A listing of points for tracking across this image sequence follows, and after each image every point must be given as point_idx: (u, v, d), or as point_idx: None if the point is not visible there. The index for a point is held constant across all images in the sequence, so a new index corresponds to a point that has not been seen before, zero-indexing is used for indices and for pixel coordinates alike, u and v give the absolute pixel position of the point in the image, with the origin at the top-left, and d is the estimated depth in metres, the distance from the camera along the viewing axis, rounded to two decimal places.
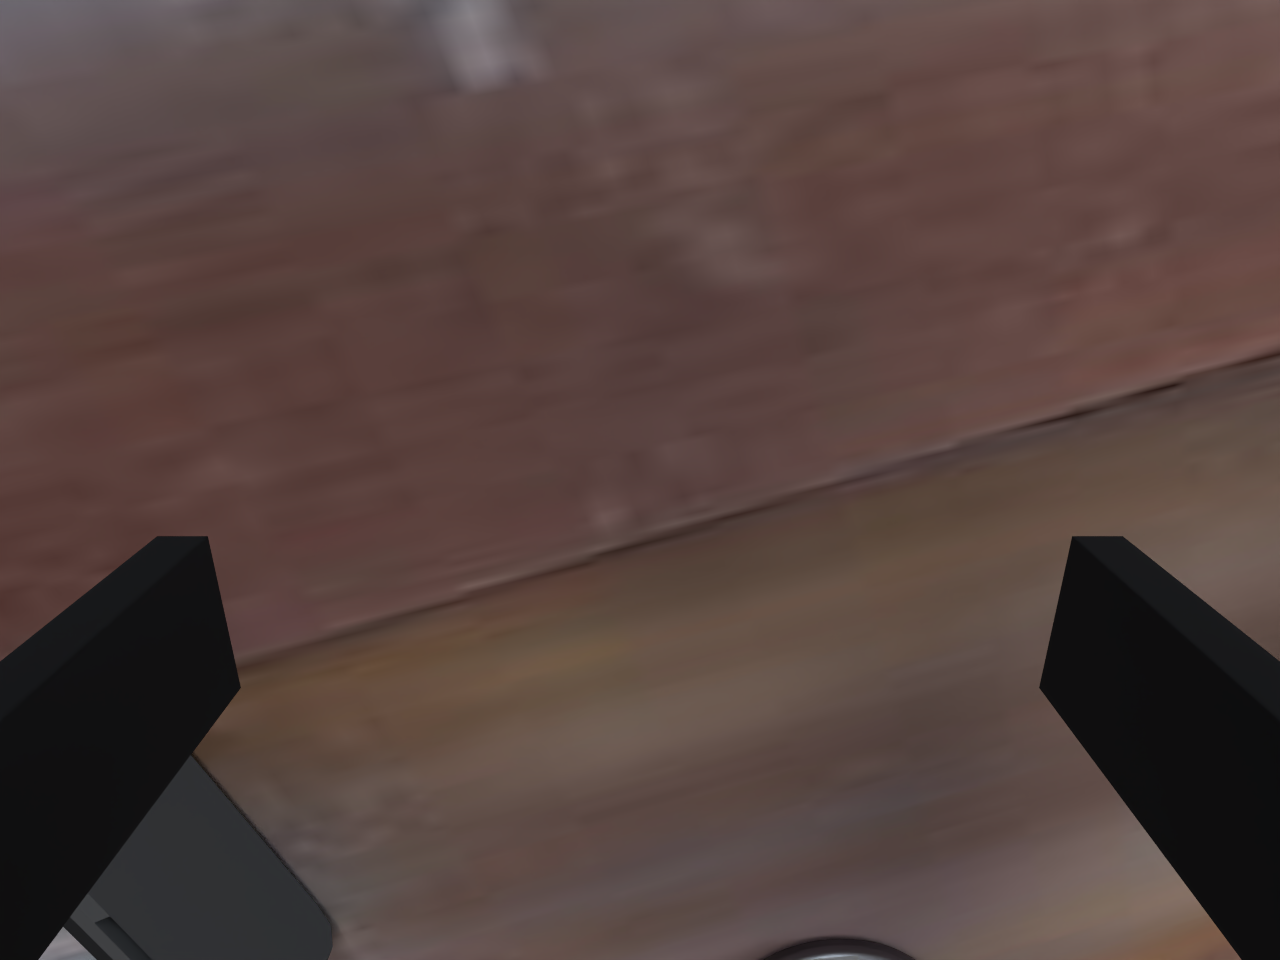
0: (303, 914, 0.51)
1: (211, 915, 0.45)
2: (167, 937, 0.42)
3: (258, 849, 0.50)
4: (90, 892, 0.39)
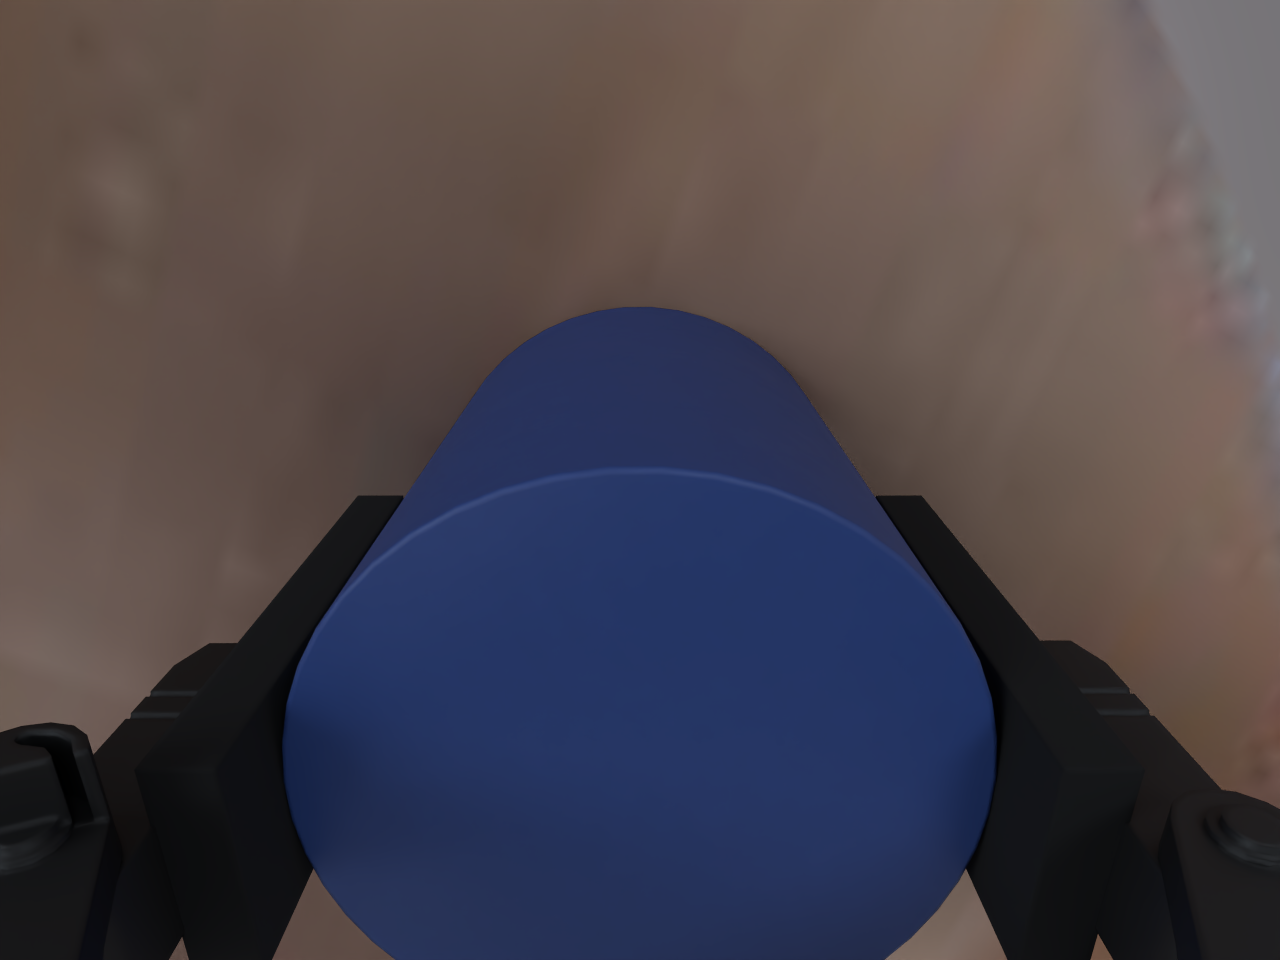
0: None
1: None
2: None
3: None
4: None
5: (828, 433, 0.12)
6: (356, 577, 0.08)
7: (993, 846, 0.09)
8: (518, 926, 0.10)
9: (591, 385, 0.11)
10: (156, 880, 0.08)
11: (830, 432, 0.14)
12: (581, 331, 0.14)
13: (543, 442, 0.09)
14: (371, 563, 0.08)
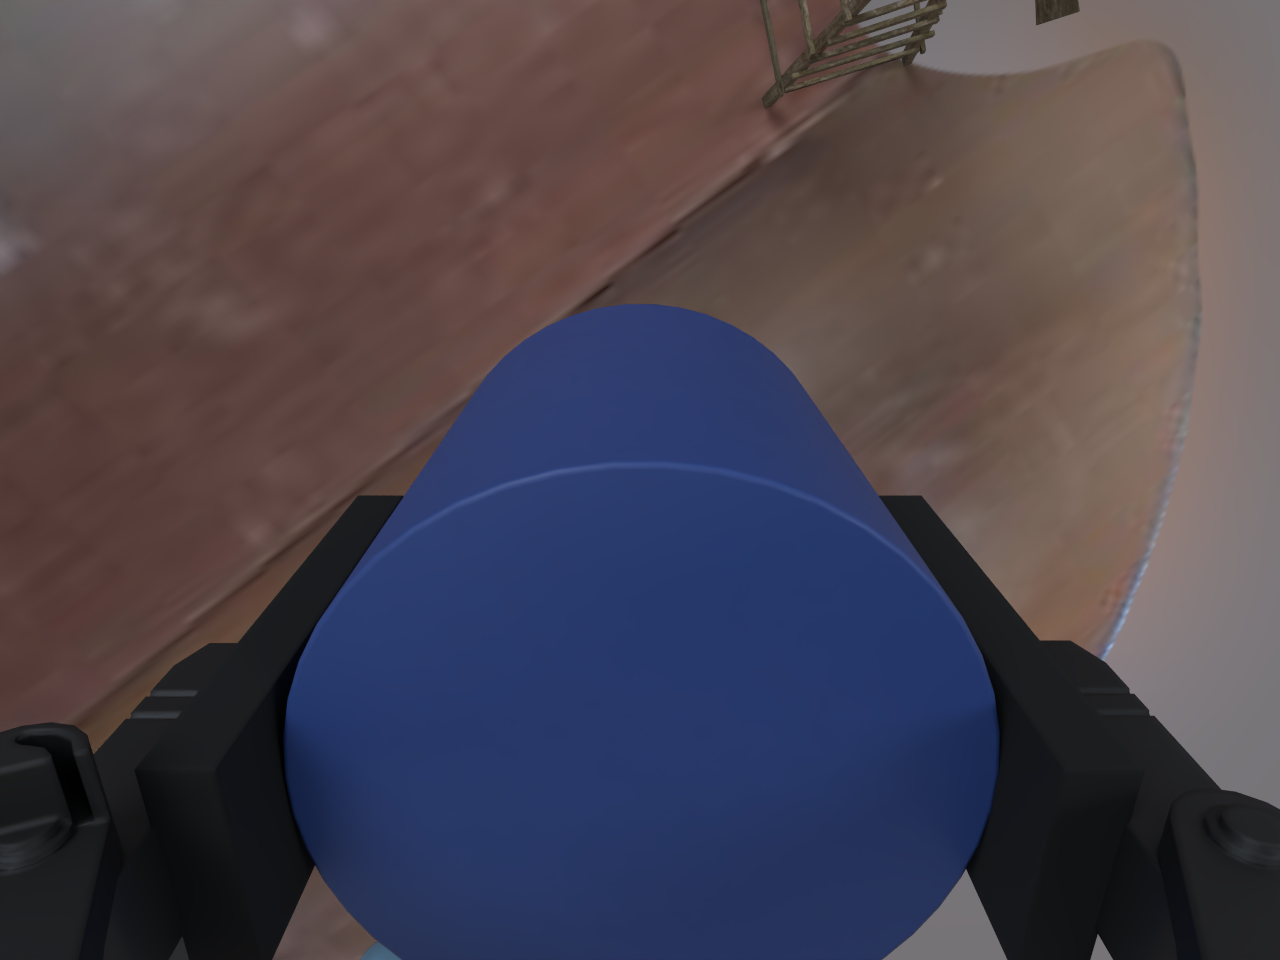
0: None
1: None
2: None
3: None
4: None
5: (830, 429, 0.12)
6: (357, 572, 0.08)
7: (993, 845, 0.09)
8: (520, 923, 0.10)
9: (593, 380, 0.10)
10: (156, 880, 0.08)
11: None
12: (582, 328, 0.14)
13: (544, 436, 0.09)
14: (372, 558, 0.08)
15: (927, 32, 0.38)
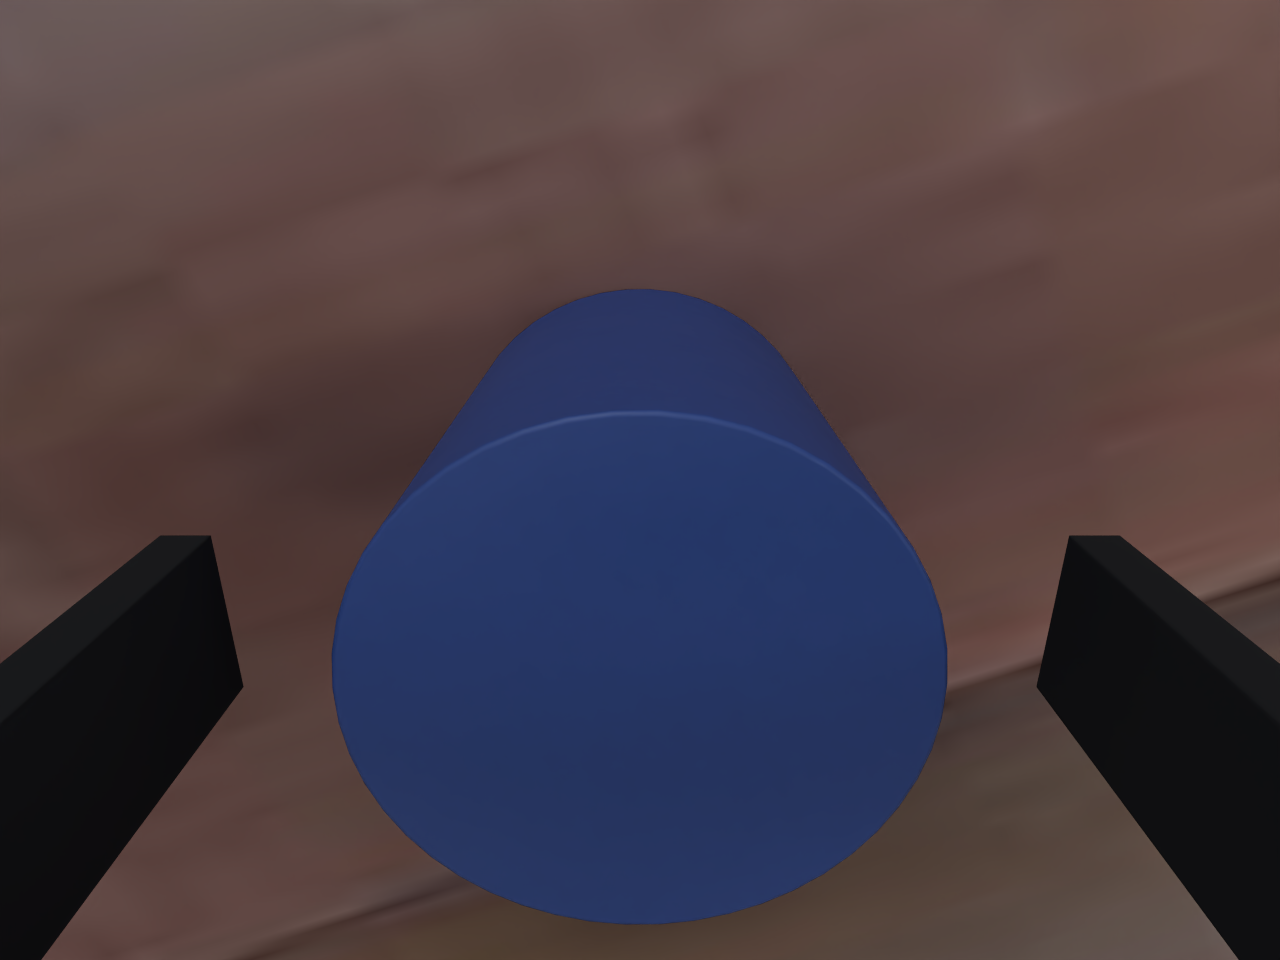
0: None
1: None
2: None
3: None
4: None
5: (808, 399, 0.14)
6: (398, 506, 0.10)
7: None
8: (533, 822, 0.11)
9: (597, 351, 0.12)
10: None
11: (812, 400, 0.15)
12: (587, 310, 0.15)
13: (556, 394, 0.10)
14: (411, 493, 0.09)
15: None
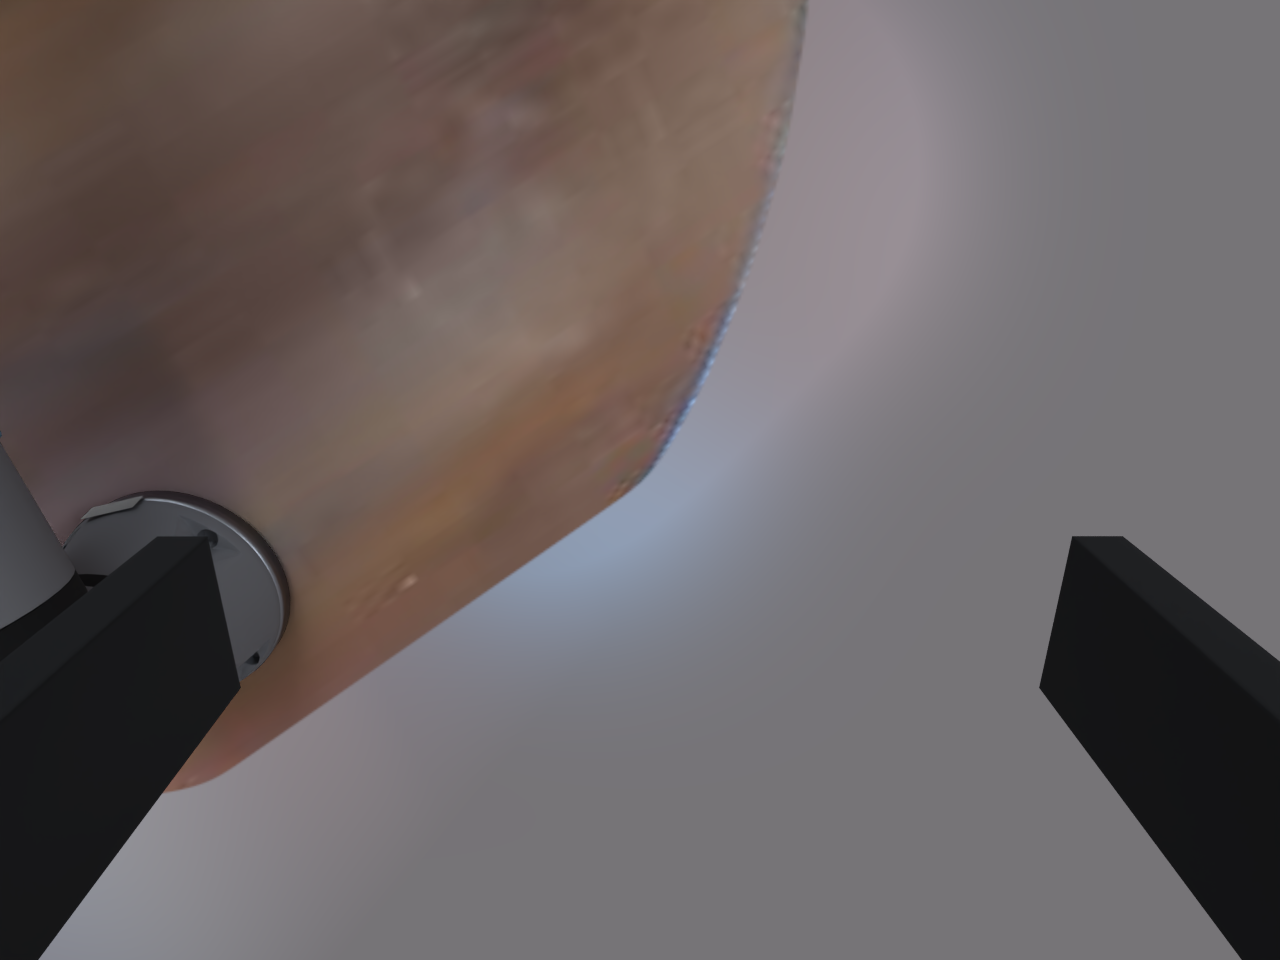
0: None
1: None
2: None
3: None
4: None
5: None
6: None
7: None
8: None
9: None
10: None
11: None
12: None
13: None
14: None
15: None
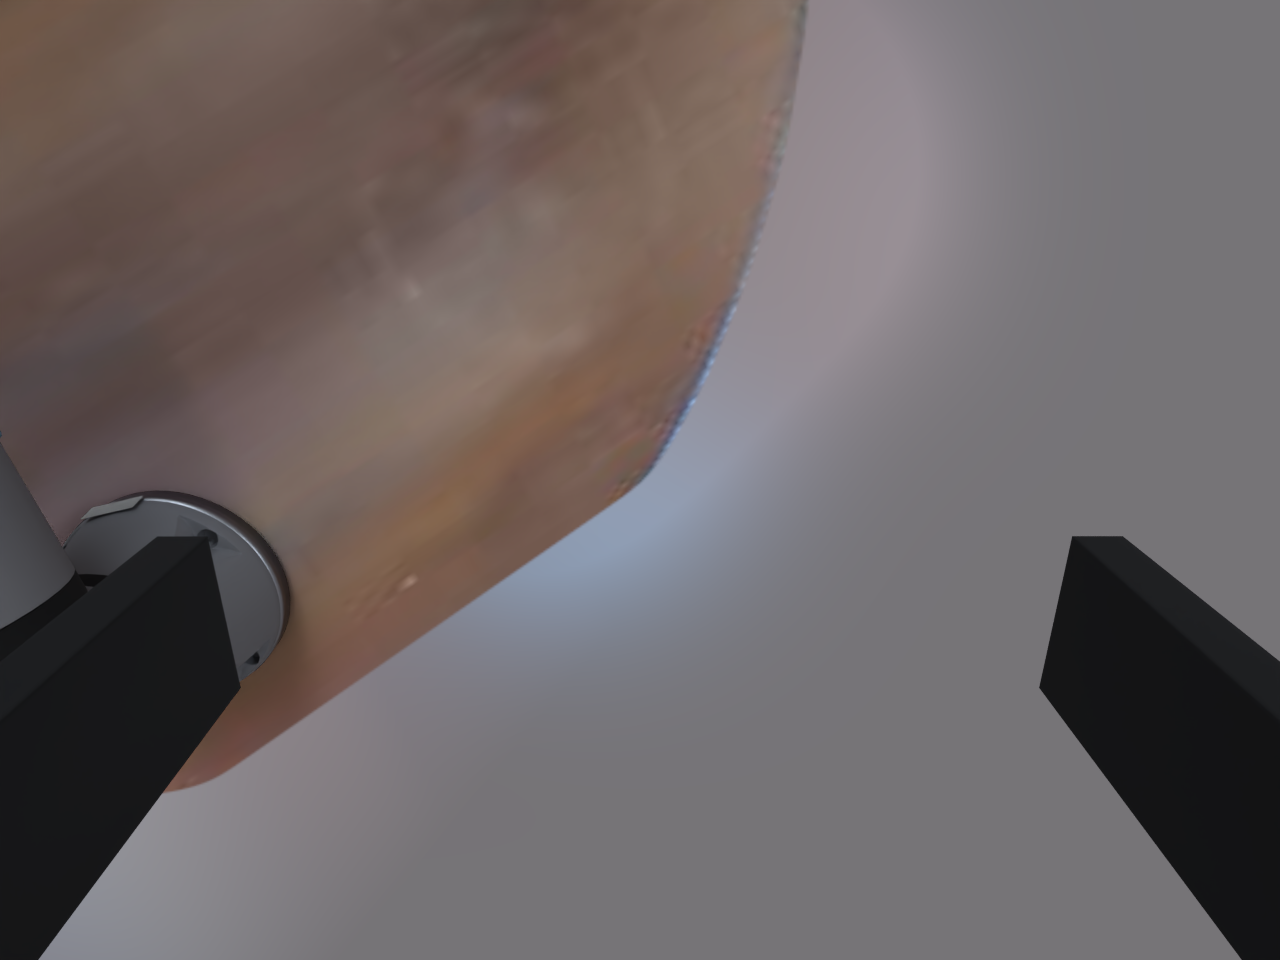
0: None
1: None
2: None
3: None
4: None
5: None
6: None
7: None
8: None
9: None
10: None
11: None
12: None
13: None
14: None
15: None
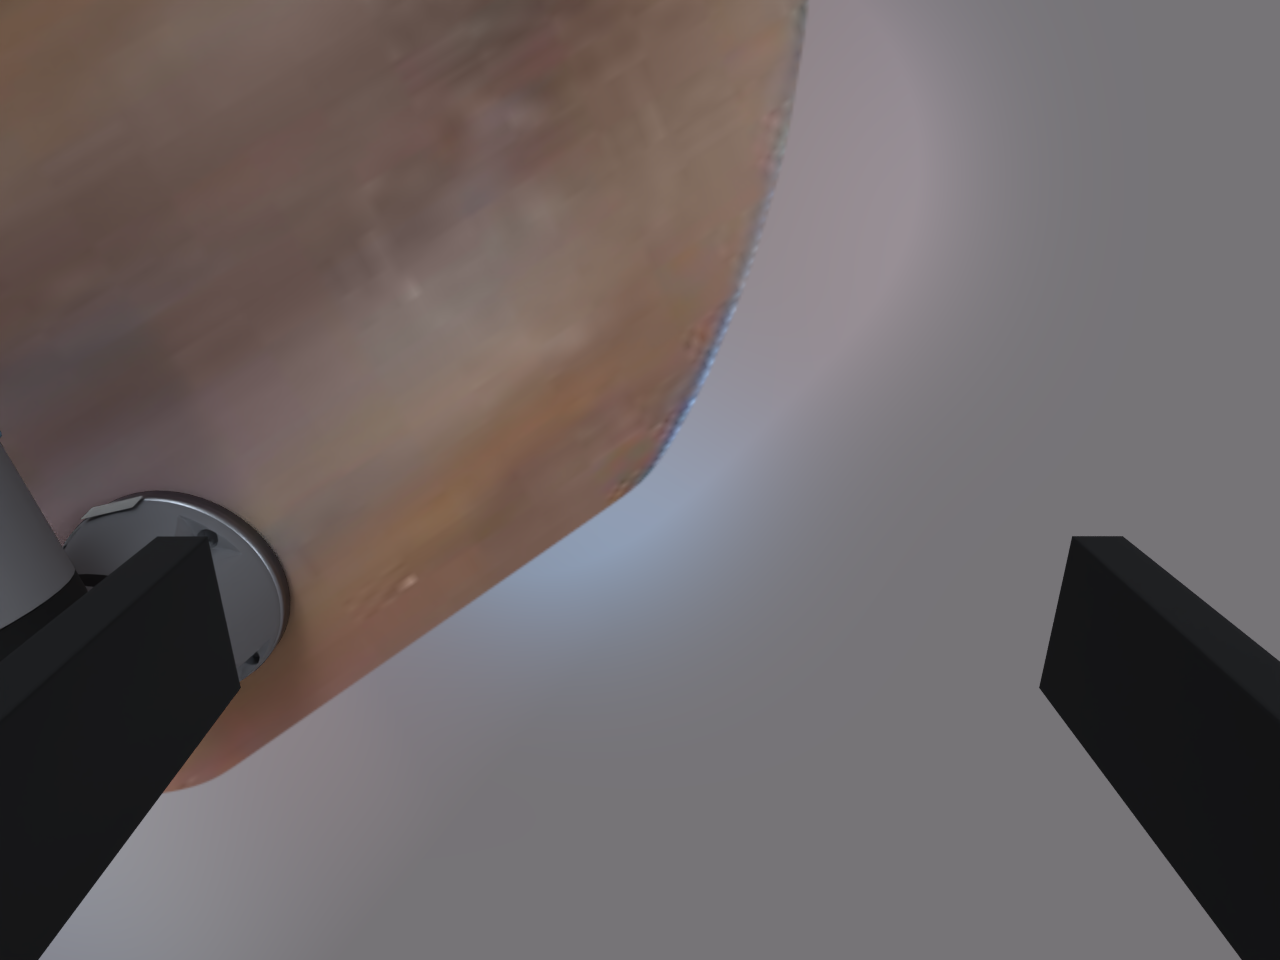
0: None
1: None
2: None
3: None
4: None
5: None
6: None
7: None
8: None
9: None
10: None
11: None
12: None
13: None
14: None
15: None
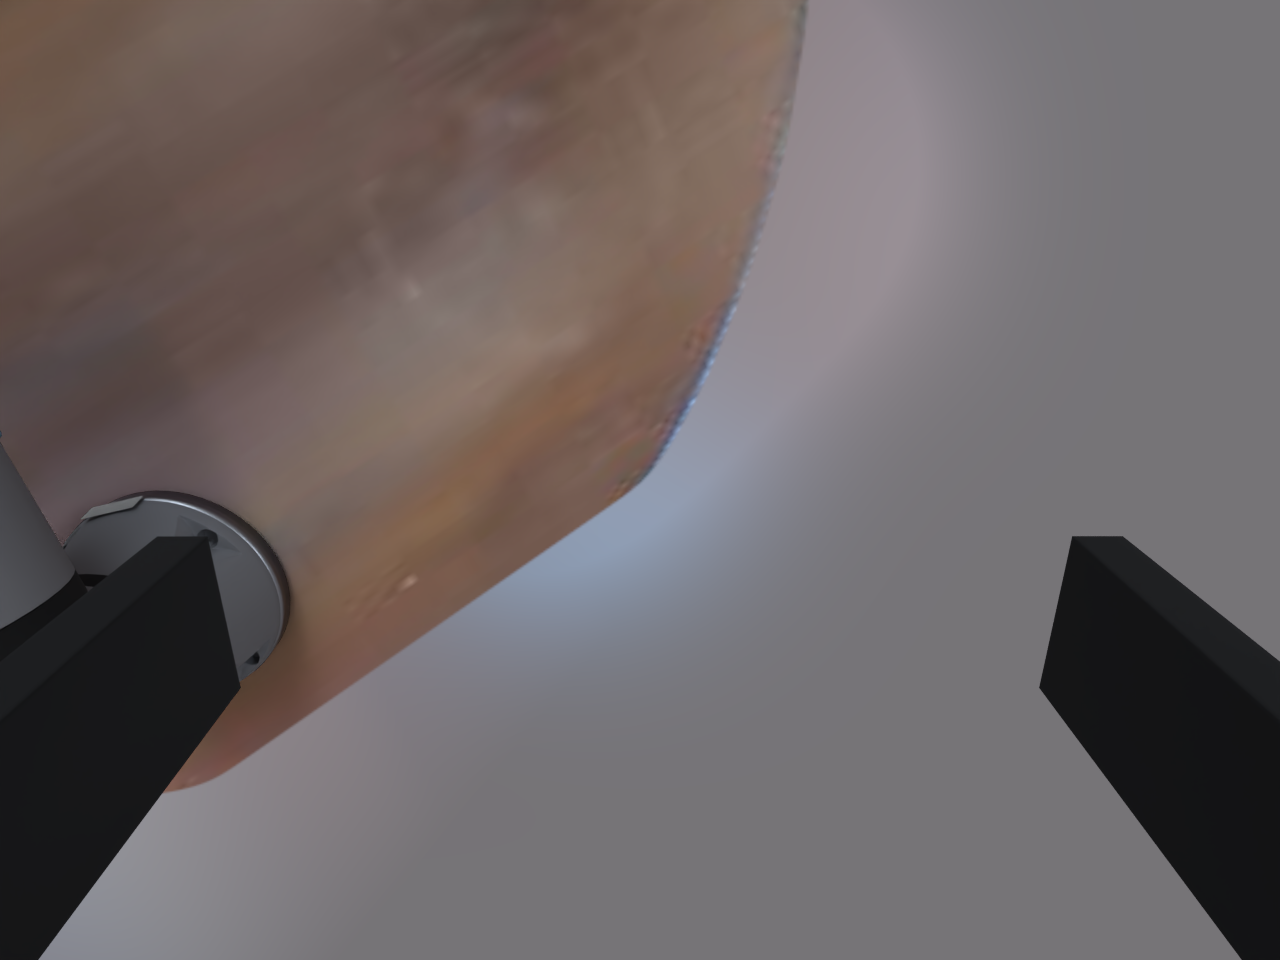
0: None
1: None
2: None
3: None
4: None
5: None
6: None
7: None
8: None
9: None
10: None
11: None
12: None
13: None
14: None
15: None
